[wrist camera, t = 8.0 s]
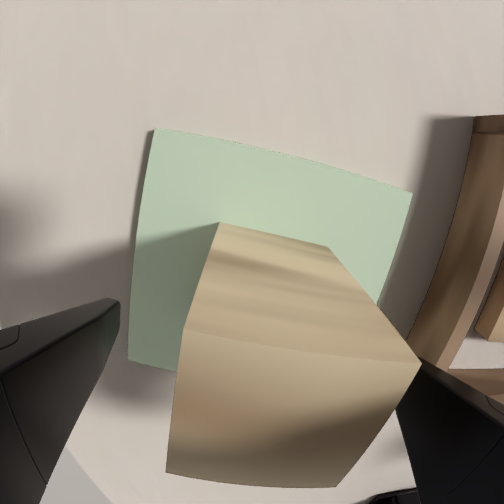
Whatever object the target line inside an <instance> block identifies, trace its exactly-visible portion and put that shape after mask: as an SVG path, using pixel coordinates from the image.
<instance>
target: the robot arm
mask: <svg viewBox="0 0 504 504" xmlns="http://www.w3.org/2000/svg"><path fill="white" fill-rule="evenodd" d="M119 326H120V302H119V301H117V300H114V299H110V298H105V299H101V300H98V301H95V302H92V303H88V304H85V305H82V306H78V307H75V308H72V309H69V310H65V311H62V312H59V313H55V314H52V315H49V316H46V317H42V318H39V319H36V320H32V321H29V322H26V323H22V324H20V326H19V325H16V326H12V327H9V328H6V329H2V330H0V504H39V503H40V501H41V498H42V496H43V493H44V491H45V488H46V485H47V484H48V481H49V479H50V477H51V474H52V472H53V470H54V468H55V465H56V463H57V461H58V459H59V457H60V454H61V452H62V450H63V448H64V446H65V444H66V442H67V440H68V438H69V436H70V434H71V432H72V430H73V428H74V426H75V424H76V422H77V420H78V418H79V416H80V414H81V412H82V410H83V408H84V406H85V404H86V402H87V400H88V398H89V396H90V394H91V392H92V390H93V388H94V387H95V385H96V383H97V381H98V379H99V377H100V375H101V373H102V371H103V369H104V367H105V364H106V362H107V359H108V356H109V354H110V351H111V349H112V346H113V344H114V341H115V339H116V336H117V334H118V331H119ZM415 355H416V354H415ZM416 356H417V355H416ZM417 358H418V359H419V360H420V362H421V363H422V364H421V366H420V368H419V370H418V372H417V373H416V375H415V377H414V379H413V380H412V382H411V384H410V385H409V387H408V389H407V390H406V392H405V394H404V395H403V397H402V399H401V400H400V402H399V403H398V405H397V406H396V408H395V410H396V414H397V418H398V421H399V425H400V428H401V431H402V435H403V438H404V442H405V445H406V449H407V452H408V456H409V460H410V463H411V467H412V471H413V475H414V479H415V483H416V487H417V488H416V489H412V490H407V491H401V492H396V493H390V494H384V495H379V496H377V497H376V498H375V499H374V500H372V501H371V502H370V503H369V504H504V405H503V404H501V403H500V402H498V401H496V400H494V399H492V398H491V397H489V396H487V395H485V394H484V393H482V392H480V391H478V390H477V389H475V388H473V387H471V386H470V385H468V384H466V383H464V382H463V381H461V380H459V379H457V378H456V377H454V376H452V375H450V374H449V373H447V372H445V371H443V370H442V369H440V368H438V367H436V366H435V365H433V364H431V363H429V362H428V361H426V360H424V359H423V358H421V357H419V356H417Z"/></svg>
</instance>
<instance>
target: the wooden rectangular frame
mask: <svg viewBox="0 0 504 504" xmlns="http://www.w3.org/2000/svg"><path fill="white" fill-rule="evenodd" d="M503 242H504V115H488V116H475V120H474V127H473V133H472V139H471V145H470V150H469V155H468V160H467V165H466V170H465V174H464V179H463V183H462V187H461V191H460V195H459V199H458V203H457V206H456V210H455V214H454V217H453V221H452V224H451V227H450V230H449V234H448V237H447V240H446V243H445V246H444V249H443V252H442V255H441V258H440V261H439V264H438V266H437V269H436V272H435V274H434V277H433V280H432V282H431V285H430V287H429V290H428V292H427V295H426V297H425V300H424V302H423V305H422V307H421V309H420V312H419V314H418V316H417V318H416V321H415V323H414V325H413V327H412V330H411V332H410V334H409V336H408V338H407V340H406V343H407V344H408V346H409V347H410V348H411V350H412V351H413V352H414V354H416V355H417V356H419V357H421V358H423V359H424V360H426V361H428V362H429V363H431V364H433V365H435V366H436V367H438V368H440V369H442V370H443V371H445V372H447V373H449V374H450V375H452V376H454V377H456V378H457V379H459V380H461V381H463V382H464V383H466V384H468V385H470V386H471V387H473V388H475V389H477V390H478V391H480V392H482V393H484V394H485V395H487V396H489V397H491V398H492V399H494V400H496V401H498V402H500V403H501V404H503V405H504V369H448V368H449V366H450V365H451V363H452V361H453V359H454V357H455V356H456V354H457V352H458V350H459V348H460V346H461V344H462V342H463V340H464V338H465V336H466V334H467V332H468V330H469V328H470V326H471V324H472V322H473V320H474V317H475V315H476V313H477V311H478V309H479V306H480V304H481V302H482V299H483V297H484V294H485V292H486V289H487V287H488V284H489V282H490V279H491V277H492V274H493V271H494V269H495V266H496V263H497V260H498V257H499V254H500V251H501V248H502V245H503ZM474 329H475V330H476V331H477V332H478V333H480V334H481V335H482V336H483V337H484V338H485V339H486V340H487V341H496V342H504V257H503V260H502V263H501V265H500V268H499V271H498V274H497V276H496V279H495V282H494V284H493V287H492V289H491V292H490V294H489V297H488V299H487V301H486V304H485V306H484V308H483V311H482V313H481V315H480V317H479V319H478V322H477V324H476V326H475V328H474Z"/></svg>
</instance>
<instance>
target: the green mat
mask: <svg viewBox="0 0 504 504" xmlns="http://www.w3.org/2000/svg"><path fill="white" fill-rule="evenodd" d="M412 195H413V193H411V192H408V191H405V190H402V189H400V188H397V187H394V186H391V185H388V184H385V183H382V182H379V181H376V180H373V179H370V178H367V177H364V176H361V175H358V174H355V173H351V172H348V171H345V170H341V169H338V168H335V167H331V166H328V165H324V164H321V163H317V162H314V161H310V160H306V159H303V158H299V157H295V156H291V155H287V154H284V153H280V152H275V151H271V150H267V149H263V148H259V147H254V146H250V145H245V144H241V143H236V142H231V141H227V140H222V139H217V138H212V137H206V136H201V135H196V134H190V133H184V132H178V131H172V130H166V129H159V128H155V130H154V135H153V140H152V144H151V149H150V154H149V159H148V165H147V170H146V176H145V181H144V187H143V193H142V200H141V206H140V213H139V220H138V227H137V235H136V243H135V252H134V261H133V271H132V283H131V295H130V310H129V329H128V360H130V361H134V362H137V363H141V364H145V365H149V366H153V367H157V368H161V369H165V370H169V371H174V372H177V369H178V362H179V355H180V348H181V342H182V335H183V329H184V326H185V323H186V320H187V316H188V313H189V310H190V307H191V304H192V301H193V298H194V295H195V292H196V289H197V286H198V283H199V280H200V277H201V274H202V271H203V269H204V266H205V263H206V260H207V257H208V254H209V251H210V248H211V245H212V243H213V240H214V237H215V234H216V231H217V228H218V226H219V223H220V222H222V223H227V224H231V225H236V226H240V227H245V228H249V229H254V230H258V231H262V232H267V233H271V234H276V235H280V236H284V237H289V238H293V239H297V240H301V241H306V242H310V243H314V244H318V245H323V246H327V247H328V248H329V249H330V250H331V251H332V252H333V254H334V255H335V256H336V257H337V258H338V259H339V261H340V262H341V263H342V264H343V265H344V266H345V268H346V269H347V270H348V271H349V272H350V273H351V275H352V276H353V277H354V278H355V279H356V281H357V282H358V283H359V284H360V285H361V287H362V288H363V289H364V290H365V292H366V293H367V294H368V295H369V296H370V298H371V299H372V300H373V301H374V303H375V304H377V301H378V298H379V296H380V293H381V291H382V288H383V285H384V283H385V280H386V277H387V274H388V272H389V269H390V266H391V263H392V260H393V257H394V254H395V251H396V248H397V245H398V242H399V239H400V236H401V233H402V230H403V226H404V223H405V220H406V216H407V213H408V209H409V206H410V202H411V199H412Z"/></svg>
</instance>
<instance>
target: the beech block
mask: <svg viewBox="0 0 504 504" xmlns="http://www.w3.org/2000/svg"><path fill="white" fill-rule="evenodd" d="M421 364H422V363H421V362H420V360H419V359H418V358H417V356H416V355H415V354H414V352H413V351H412V350H411V348H410V347H409V346H408V344H407V343H406V342H405V341H404V339H403V338H402V337H401V335H400V334H399V333H398V331H397V330H396V329H395V328H394V326H393V325H392V324H391V323H390V321H389V320H388V319H387V318H386V316H385V315H384V314H383V313H382V311H381V310H380V309H379V308H378V306H377V305H376V304H375V303H374V301H373V300H372V299H371V298H370V296H369V295H368V294H367V293H366V292H365V290H364V289H363V288H362V287H361V285H360V284H359V283H358V282H357V281H356V279H355V278H354V277H353V276H352V275H351V273H350V272H349V271H348V270H347V269H346V268H345V266H344V265H343V264H342V263H341V262H340V261H339V259H338V258H337V257H336V256H335V255H334V254H333V252H332V251H331V250H330V249H329V248H328V247H327V246H323V245H318V244H314V243H310V242H306V241H301V240H297V239H293V238H289V237H284V236H280V235H276V234H271V233H267V232H262V231H258V230H254V229H249V228H245V227H240V226H236V225H231V224H227V223H222V222H220V223H219V226H218V228H217V231H216V234H215V237H214V240H213V243H212V245H211V248H210V251H209V254H208V257H207V260H206V263H205V266H204V269H203V271H202V274H201V277H200V280H199V283H198V286H197V289H196V292H195V295H194V298H193V301H192V304H191V307H190V310H189V313H188V316H187V320H186V323H185V326H184V329H183V335H182V342H181V348H180V355H179V362H178V369H177V376H176V383H175V391H174V399H173V407H172V415H171V424H170V433H169V442H168V452H167V462H166V473H170V474H175V475H180V476H185V477H190V478H196V479H202V480H208V481H215V482H222V483H230V484H239V485H249V486H262V487H281V488H329V487H336V486H337V485H338V484H339V483H340V482H341V481H342V479H343V478H344V477H345V476H346V475H347V473H348V472H349V471H350V470H351V469H352V467H353V466H354V465H355V464H356V462H357V461H358V460H359V459H360V457H361V456H362V455H363V453H364V452H365V451H366V449H367V448H368V447H369V445H370V444H371V443H372V441H373V440H374V439H375V437H376V436H377V434H378V433H379V432H380V430H381V429H382V427H383V426H384V424H385V423H386V422H387V420H388V419H389V417H390V416H391V414H392V413H393V411H394V410H395V408H396V406H397V405H398V403H399V402H400V400H401V399H402V397H403V395H404V394H405V392H406V390H407V389H408V387H409V385H410V384H411V382H412V380H413V379H414V377H415V375H416V373H417V372H418V370H419V368H420V366H421Z"/></svg>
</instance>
